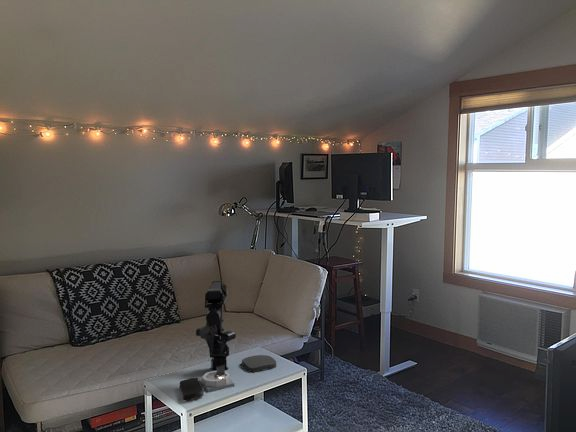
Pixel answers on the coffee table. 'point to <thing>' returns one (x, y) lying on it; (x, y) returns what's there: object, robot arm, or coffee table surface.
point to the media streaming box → (259, 363)
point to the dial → (219, 373)
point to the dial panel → (216, 382)
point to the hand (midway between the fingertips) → (216, 352)
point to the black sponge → (191, 389)
